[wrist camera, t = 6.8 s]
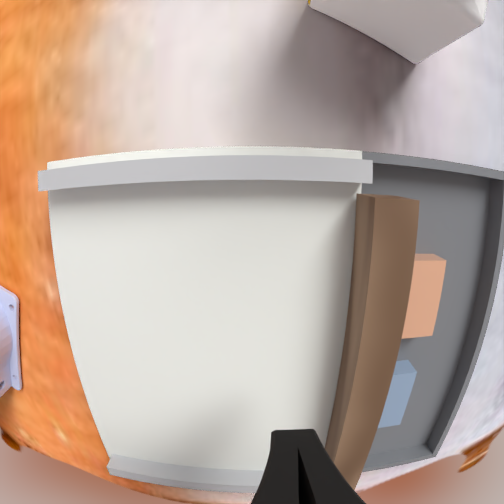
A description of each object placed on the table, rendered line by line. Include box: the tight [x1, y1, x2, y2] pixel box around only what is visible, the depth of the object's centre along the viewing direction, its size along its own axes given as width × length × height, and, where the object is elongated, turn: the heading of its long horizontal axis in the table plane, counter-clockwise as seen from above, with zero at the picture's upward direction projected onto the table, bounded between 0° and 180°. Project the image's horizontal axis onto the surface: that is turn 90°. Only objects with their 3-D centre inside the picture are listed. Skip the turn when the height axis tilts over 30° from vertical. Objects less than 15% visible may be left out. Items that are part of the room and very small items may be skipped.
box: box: [361, 151, 504, 472], centre depth 17 cm, size 10×22×2 cm, turn 0°
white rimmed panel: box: [38, 146, 373, 493], centre depth 17 cm, size 16×22×4 cm
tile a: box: [401, 254, 446, 339], centre depth 16 cm, size 4×4×2 cm
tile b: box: [378, 360, 417, 428], centre depth 18 cm, size 4×4×2 cm
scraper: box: [325, 193, 420, 490], centre depth 15 cm, size 2×18×2 cm, turn 0°
